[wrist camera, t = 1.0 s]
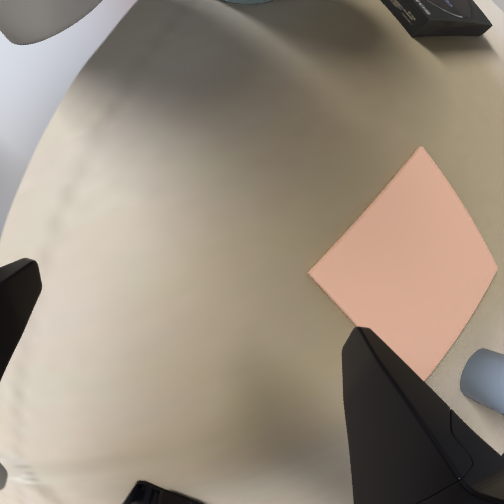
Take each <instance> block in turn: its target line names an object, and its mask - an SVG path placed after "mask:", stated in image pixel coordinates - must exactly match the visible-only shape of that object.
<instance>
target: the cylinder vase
mask: <svg viewBox="0 0 504 504" xmlns="http://www.w3.org/2000/svg"><path fill="white" fill-rule="evenodd" d="M101 1H102V0H0V31H1V32H2V33H3V34H4V35H5V37H6V38H7V39H8V40H9V41H10V42H12V43H14V44H17V45H28V44H33V43H37V42H40V41H43V40H45V39H47V38H50V37H52V36H54V35H56V34H58V33H60V32H62V31H63V30H65V29H67V28H69V27H70V26H72V25H73V24H75V23H76V22H78V21H79V20H80V19H82V18H83V17H84V16H85V15H87V14H88V13H89V12H90V11H92V10H93V9H94V8H95V7H96V6H97V5H98V4H99V3H100V2H101Z"/></svg>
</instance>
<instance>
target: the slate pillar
mask: <svg viewBox="0 0 504 504" xmlns="http://www.w3.org/2000/svg"><path fill="white" fill-rule="evenodd" d="M460 389H461V392H462V393H463V394H464V395H465V396H467V397H469V398H471V399H473V400H475V401H477V402H479V403H481V404H483V405H485V406H487V407H489V408H491V409H493V410H495V411H497V412H499V413H501V414H503V415H504V355H503V354H500V353H497V352H494V351H491V350H488V349H484V348H483V349H479V350H478V351H476V352H475V353H474V354H473V355H472V356H471V357H470V359H469V360H468V362H467V364H466V365H465V367H464V370H463V372H462V376H461V380H460Z"/></svg>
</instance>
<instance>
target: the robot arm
mask: <svg viewBox="0 0 504 504" xmlns="http://www.w3.org/2000/svg"><path fill="white" fill-rule="evenodd" d="M41 290H42V282H41V277H40V272H39V267H38V264H37V262H36V261H35V260H32V259H29V258H23V259H20V260H18V261H15V262H13V263H10V264H8V265H5V266H3V267H0V381H1V379H2V376H3V374H4V372H5V369H6V367H7V365H8V363H9V361H10V359H11V357H12V354H13V352H14V350H15V348H16V346H17V344H18V342H19V340H20V338H21V336H22V334H23V332H24V330H25V327H26V325H27V322H28V320H29V318H30V315H31V313H32V311H33V308H34V306H35V304H36V302H37V299H38V297H39V295H40V293H41ZM342 373H343V401H344V410H345V418H346V426H347V434H348V443H349V453H350V463H351V474H352V485H353V499H354V504H504V458H503V457H502V456H501V455H499V454H498V453H497V452H496V451H495V450H494V449H493V448H492V447H490V446H489V445H488V444H487V443H486V442H485V441H484V440H483V439H481V438H480V437H479V436H478V435H477V434H476V433H475V432H474V431H473V430H472V429H471V428H470V427H469V426H468V425H467V424H466V423H465V422H464V421H463V420H462V419H461V418H460V417H459V416H458V415H457V414H456V413H455V412H454V411H453V410H452V409H450V407H449V406H448V405H447V404H446V403H445V402H444V401H443V400H442V399H441V398H440V397H439V396H438V395H437V394H436V393H435V392H434V391H433V390H432V389H431V388H430V387H429V386H428V385H427V384H426V383H425V382H424V381H423V380H422V379H421V378H420V377H419V376H418V375H417V374H416V373H415V372H414V371H413V370H412V369H411V368H410V367H409V366H408V365H407V364H406V363H405V362H404V361H403V360H402V359H401V358H400V357H399V356H398V355H397V354H396V353H395V352H394V351H393V350H392V349H391V348H390V347H389V346H388V345H387V344H386V343H385V342H384V341H383V340H382V339H381V338H380V337H379V336H378V335H377V334H376V333H374V332H373V331H372V330H371V329H370V328H368V327H360V326H357V327H355V328H354V329H353V331H352V332H351V334H350V336H349V338H348V339H347V341H346V343H345V344H344V346H343V349H342ZM140 485H141V486H140ZM142 486H143V487H142ZM122 504H200V503H197V502H194V501H191V500H188V499H186V498H183V497H180V496H178V495H175V494H172V493H170V492H167V491H165V490H162V489H160V488H158V487H155V486H153V485H151V484H149V483H146V482H144V481H137V482H136V484H135V485H134V487H133V488H132V490H131V491H130V493H129V494H128V496H127V497H126V499H125V500H124V502H123V503H122Z"/></svg>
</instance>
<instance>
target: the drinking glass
mask: <svg viewBox="0 0 504 504" xmlns="http://www.w3.org/2000/svg"><path fill="white" fill-rule="evenodd" d="M222 1H226V2H231V3H239V4H258V3H264V2H268V1H272V0H222Z"/></svg>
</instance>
